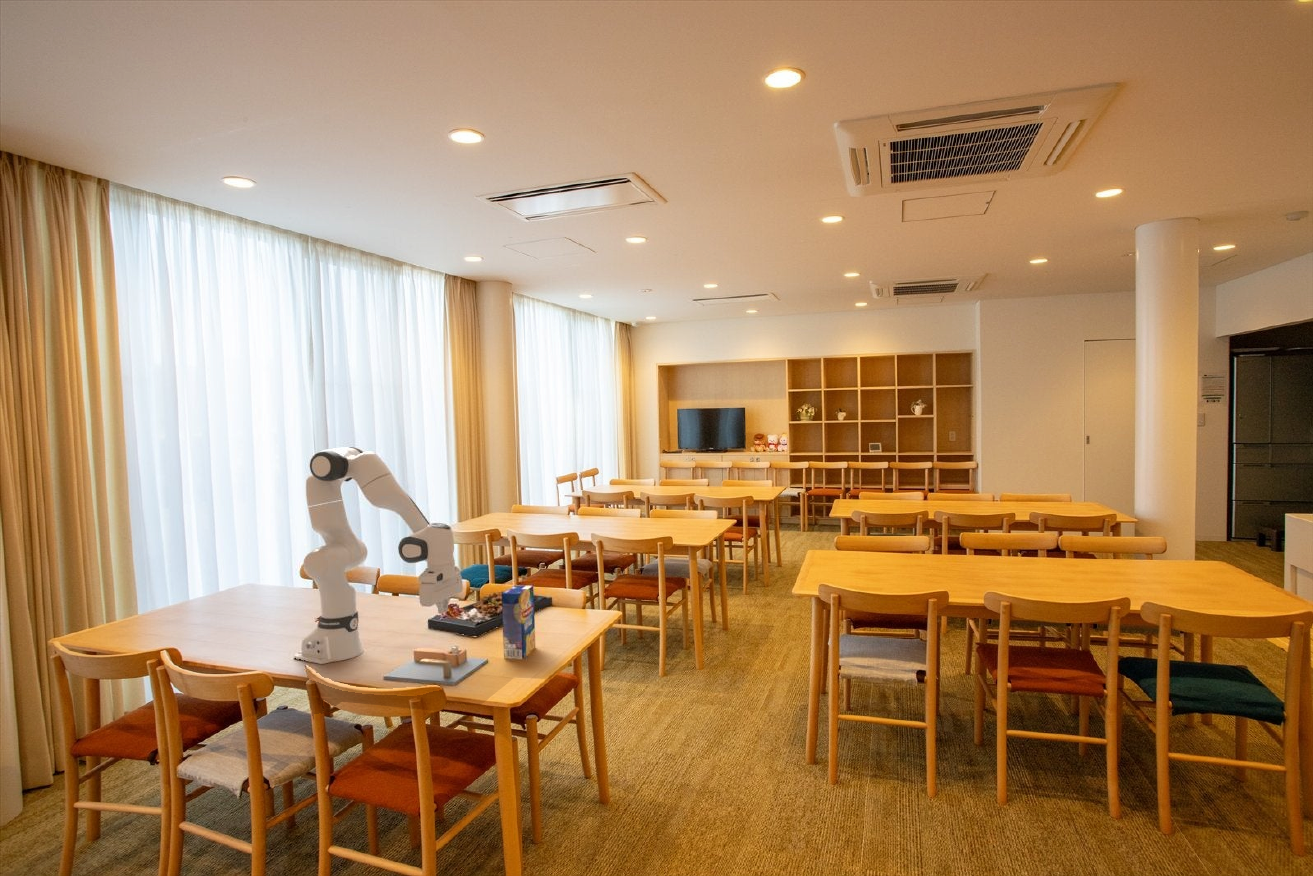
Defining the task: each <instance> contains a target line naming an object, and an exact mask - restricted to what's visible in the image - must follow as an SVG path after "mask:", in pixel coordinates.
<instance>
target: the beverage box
mask: <svg viewBox="0 0 1313 876" xmlns="http://www.w3.org/2000/svg"><path fill="white" fill-rule="evenodd" d="M534 592H535V591H534V585H526V584H525V585H524V584H523V585H518V584H515V585H512V586H511V587H510V588H507V589H506V590H504V591H503V593H502V618H503V626H502V640H503V641H502V645H503V659H504V658H524V657H525V656H526V655H527V656H528V655H530V653H532V652H531V650H533V649H534V648H535V649H536V627H535V626H536V625H535V612H534V595H535V594H534ZM535 649H534V650H535ZM534 650H533V651H534ZM527 656H526V657H527ZM526 657H525V658H526ZM525 658H524V659H525Z"/></svg>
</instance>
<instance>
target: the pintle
mask: <svg viewBox="0 0 1313 876" xmlns="http://www.w3.org/2000/svg"><path fill="white" fill-rule="evenodd" d="M451 649H452V654H458V649H459V646H457V645H453V646H451Z"/></svg>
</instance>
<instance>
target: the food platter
mask: <svg viewBox="0 0 1313 876" xmlns="http://www.w3.org/2000/svg"><path fill="white" fill-rule="evenodd" d="M503 592H504V590H502V591H501V592H498V593H496V592H493V593H489V594H488V595H487V594H486V595H484V597H483V599H482V600H478V601H476V602H474V603H471V604H468V605H465V606H462V607H460V604H458V603H449V604H448V611H447V612H445V613H443V614H436V615H434V616H433V617H431V618H428V619H427V628H428V629H431V628H433V629H432V630H438V631H444V632H449V633H454V632H455V633H454V634H456V633H459V634H464V635H468V636H467V637H469V636H478V637H480V636H482V635H481V634H483V633H485V632H487V633H489V631H490V630H492V631H494V630H495V629H494V628H496V627H499V628H501V627H503V626H502V625H503V618H502V593H503ZM550 606H553V597H552V596H545V595H537V594H534V613H536V612H538V611H540V610H539V609H541V610H544V609H545V608H547V607H550ZM537 610H538V611H537ZM535 611H536V612H535ZM500 626H501V627H500ZM493 629H494V630H493ZM496 629H497V628H496ZM490 632H491V631H490ZM485 634H486V633H485ZM464 635H463V636H464ZM479 635H480V636H479ZM483 635H484V634H483Z"/></svg>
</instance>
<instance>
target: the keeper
mask: <svg viewBox="0 0 1313 876" xmlns="http://www.w3.org/2000/svg"><path fill="white" fill-rule="evenodd" d="M420 664H423V665H435V666H443V673H444V678H445V679H448V678H450V677H451V676H452V672H451V661H446V660H433V659H422V660H420Z"/></svg>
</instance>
